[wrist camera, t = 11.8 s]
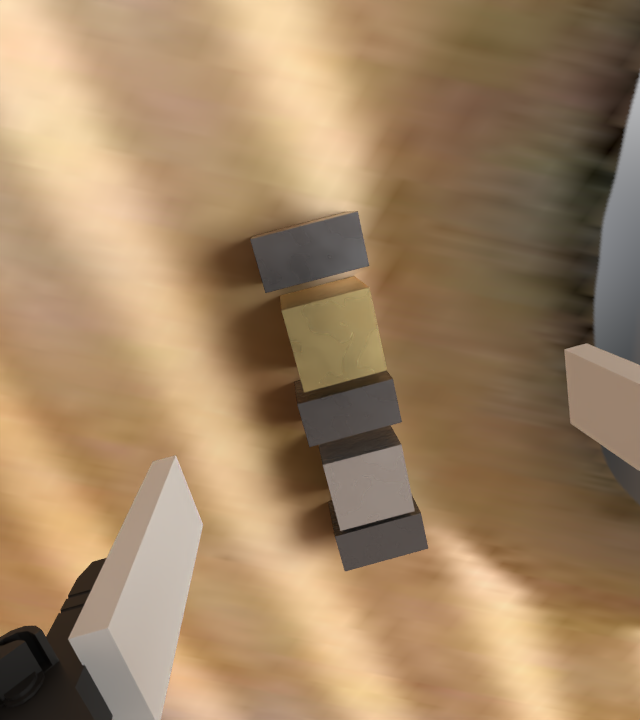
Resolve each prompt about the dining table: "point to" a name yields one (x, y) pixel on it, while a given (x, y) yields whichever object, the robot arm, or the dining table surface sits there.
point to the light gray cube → (367, 477)
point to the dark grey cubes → (346, 399)
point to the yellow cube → (333, 333)
